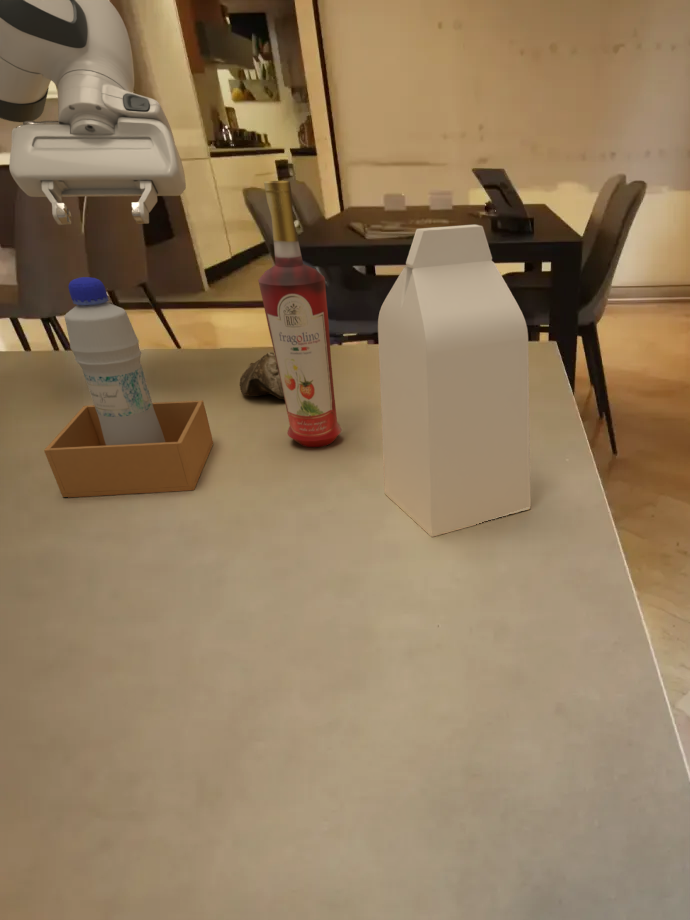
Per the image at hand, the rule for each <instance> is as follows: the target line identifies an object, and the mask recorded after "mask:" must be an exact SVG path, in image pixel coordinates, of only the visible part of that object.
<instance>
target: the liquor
mask: <svg viewBox="0 0 690 920" xmlns="http://www.w3.org/2000/svg"><path fill="white" fill-rule="evenodd" d="M263 185H264V192H265V197H266V202H267V206H268V209H269V213H270V217H271V227H272V228H271V229H272V236H273V237H272V240H273V250H274V261H275V262H274V263H275V265H273V266H271V267H269V268H268V269H266V270H265V271H264V273H262V275H261V276H260V277H259V279H257V281H258V285H259V290H260V294H261V299H262V304H263V308H264V313H265V319H266V323H267V328H268V332H269V336H270V340H271V345H272V348H273V353H274V354H275V357H276V361H277V366H278V370H279V375H280V380H281V385H282V389H283V394H284V399H283V400H284V404H285V409H286V414H287V419H288V423H289V427H288V429H287V432H286V434H287V436H288V437H289V438H291V439H292V440H293V441H295V442H296V443H298V444H299V445H300V446H302V447H306V448H322V447H326V446H328V445H330V444H332V443H334V441H335V440H336V439H337V438H338V436H339V435H340V434H341V432H342V430H343V429H342V427H341V425H340V424H339V422H338V416H337V407H336V398H335V389H334V388H335V387H334V378H333V377H334V376H333V366H332V354H331V353H332V351H331V337H330V336H331V335H330V324H329V313H328V302H327V292H326V290H327V289H326V280H325V279H326V278H325V276H324V275H322V273H320V272H319V271H318V270H317V269H316V268H313V267H312V266H309V265H307V264H305V263H304V261H303V257H302V252H301V248H300V243H299V237H298V235H297V229H296V225H295V221H294V214H293V212H294V211H293V202H294V200H293V193H292V187H291V181H290V180H267V181H263Z"/></svg>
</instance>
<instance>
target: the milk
mask: <svg viewBox="0 0 690 920" xmlns="http://www.w3.org/2000/svg"><path fill="white" fill-rule="evenodd" d="M377 338H378V339H377V340H378V360H379V361H378V363H379V387H380V388H379V389H380V411H381V414H380V415H381V435H382V439H381V440H382V463H383V482H384V483H383V486H384V489H383V490H384V495H385V496H386V497H388V499H389V500H391V501H392V502H393V503H394V504H395V505H396V506H397V507H398V508H400V509H401V510H402V511H403V512H404V514H406V515H407V516H408V517H409V518H410V519H411V520H412V521H413V522H414V523H416V524H417V525H418V526H419V527H420V528H421V529H422V530H423V531H425V533H427V535H429V536H430V537H431V538H433V537H437V536H440V535H445V534H448V533H451V532H455V531H459V530H462V529H466V528H469V527H473V526H477V525H480V524H479V523H481V524H483V523H482V522H484V521H488V520H490V519H493V518H496V517H499V516H503V515H505V514H508V513H510V512H514V511H517V510H520V509H523V508H526V507H530V506H531V507H532V503H531V502H532V500H531V499H532V498H531V495H532V494H531V492H532V491H531V489H532V488H531V438H530V437H531V434H530V431H531V430H530V429H531V428H530V372H529V371H530V370H529V369H530V366H529V365H530V364H529V332H528V326H527V322H526V318H525V316H524V314H523V311H522V310H521V308H520V306H519V304H518V302H517V300H516V299H515V296H514V295H513V293H512V291H511V290H510V288H509V286H508V283H506V281H505V279H504V277H503V276H502V274H501V272H500V270H499V268H498V267H497V265H496V263H495V262H494V261H493V255H492V253H491V249H490V247H489V242H488V239H487V236H486V232H485V229H484V226H483V225H480V224H463V225H450V226H437V227H423V228H422V227H421V228H416V229H415V233H414V236H413V239H412V242H411V246H410V248H409V251H408V255H407V258H406V261H405V266H404V267H403V269H402V270H401V272H400V274H399V275H398V277H397V279H396V280H395V282H394V283H393V285H392V287H391V289H390V290H389V292H388V293H387V295H386V297H385V299H384V301H383V303H382V305H381V307H380V310H379V314H378V319H377ZM488 522H489V521H488ZM484 523H485V522H484ZM476 524H477V525H476Z"/></svg>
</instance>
